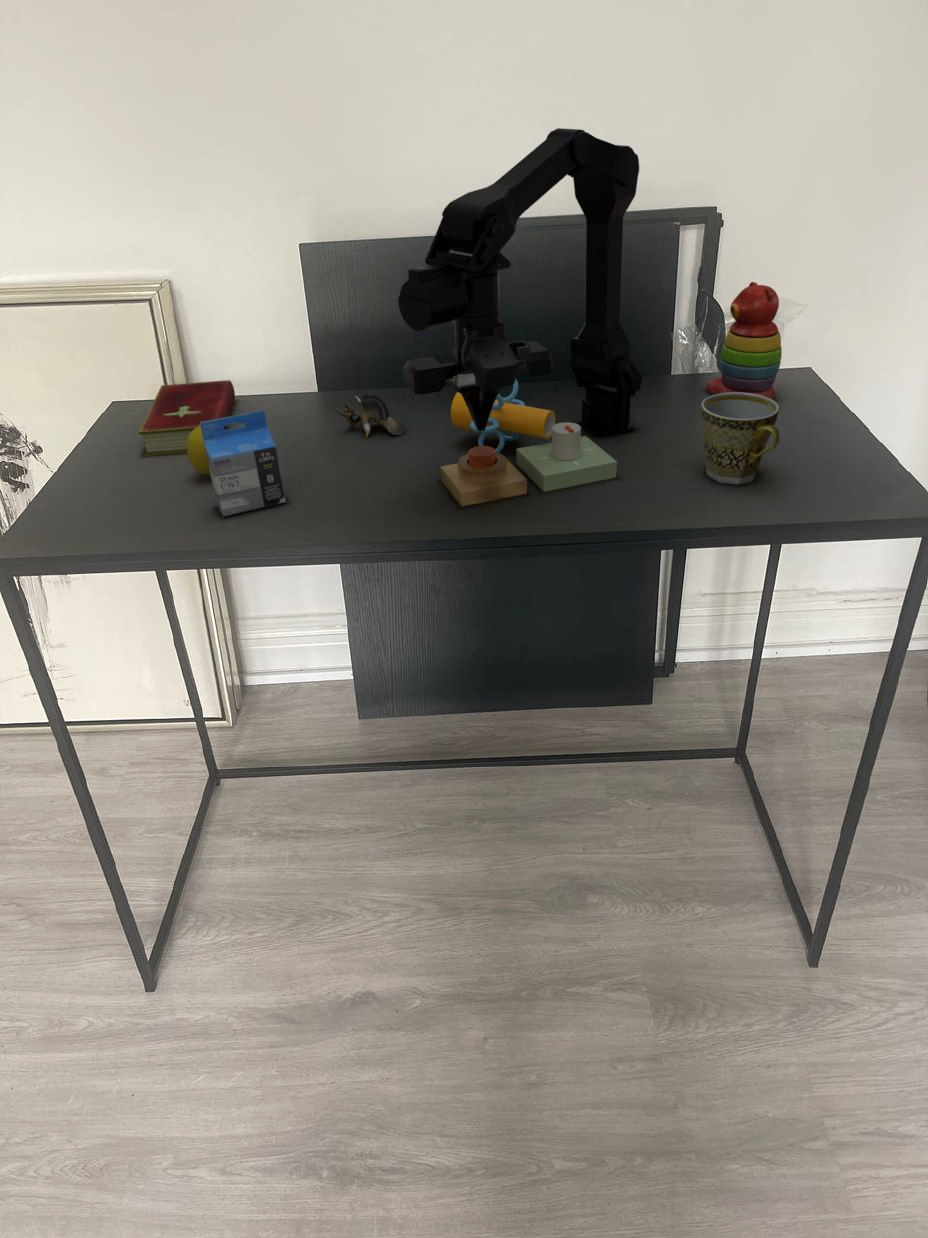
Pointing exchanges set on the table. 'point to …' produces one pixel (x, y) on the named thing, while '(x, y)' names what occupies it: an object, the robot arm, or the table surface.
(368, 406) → the animal figurine
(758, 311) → the stacking bear
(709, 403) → the ceramic cup
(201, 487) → the table surface
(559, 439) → the dial
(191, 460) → the lemon
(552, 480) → the dial panel
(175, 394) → the hardcover book
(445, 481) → the button block
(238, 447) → the label tape box
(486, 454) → the top button
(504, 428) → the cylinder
